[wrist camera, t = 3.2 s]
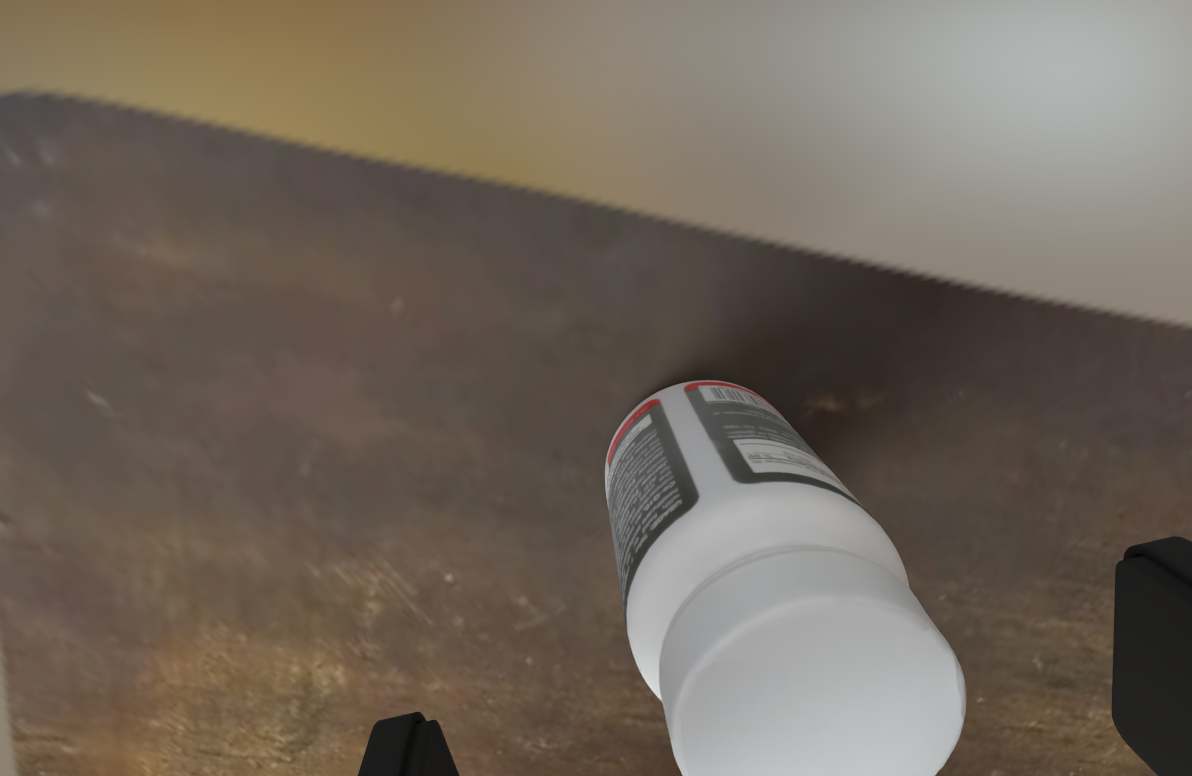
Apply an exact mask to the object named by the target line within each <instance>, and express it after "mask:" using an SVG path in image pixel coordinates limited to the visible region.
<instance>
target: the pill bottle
mask: <svg viewBox="0 0 1192 776" xmlns="http://www.w3.org/2000/svg"><path fill="white" fill-rule="evenodd" d="M605 486H606V496H607V502H608V510H609V516H610V523H611V530H612V536H613V542H614V549H615V555H616V562H617V568H618V574H619V581H620V588H621V595H622V601H623V608H624V616H625V622H626V628H627V633H628V637H629V641H630V646H631V649H632V652H633V655H634V658H635V661H636V663H637V666H638V668H639V670H640V672H641V674H642V676H643V678H644V679H645V681H646V683H647V684H648V686H649V687H650V688H651V690H652V691H653V692H654V693H655V694H656V696H657V697H658V698H659V699H660V700H661V701H662V703H663V707H664V712H665V717H666V722H667V726H668V731H669V735H670V740H671V745H672V750H673V753H674V756H675V760H676V762H677V764H678V766H679V769H680V771H681V773H682V775H683V776H935V775H936V774H937V772H938V771H939V770H940V769H941V768H942V767H943V766H944V765H945V763H946V760H947V759H948V758H949V756H950V754H951V753H952V751H953V749H954V748H955V746H956V743H957V741H958V739H959V737H960V734H961V730H962V727H963V723H964V718H965V713H966V686H965V680H964V676H963V672H962V669H961V666H960V664H959V662H958V660H957V657H956V655H955V654H954V652H953V650H952V648H951V646H950V645H949V643H948V642H947V641H946V639H945V638H944V637H943V635H942V634H941V633H940V631H939V630H938V629H937V627H936V626H935V625H934V623H933V622H932V621H931V619H930V618H929V617H928V615H927V614H926V612H925V611H924V609H923V607H922V606H921V604H920V602H919V601H918V599H917V598H916V597H915V595H914V594H913V593H912V591H911V590H910V589H909V584H908V579H907V575H906V572H905V568H904V566H903V563H902V561H901V558H900V556H899V554H898V552H897V550H896V548H895V547H894V545H893V544H892V542H891V540H890V539H889V537H888V536H887V535H886V533H885V532H884V530H883V529H882V528H881V526H880V525H879V524H878V523H877V522H876V520H875V519H874V518H873V517H872V515H871V514H870V513H869V512H868V511H867V510H866V509H865V508H864V507H863V506H862V505H861V504H860V503H859V502H858V500H857V499H856V498H855V497H854V496H853V495H852V494H851V493H850V491H849V490H848V489H847V488H846V487H845V486H844V485H843V484H842V483H841V481H840V480H839V479H838V478H837V477H836V476H835V475H834V473H833V472H832V471H831V470H830V469H829V468H828V467H827V466H826V465H825V463H824V462H823V461H822V460H821V459H820V458H819V457H818V456H817V455H816V453H815V452H814V451H813V450H812V449H811V448H810V447H809V446H808V444H807V443H806V442H805V441H804V440H803V439H802V438H801V437H800V436H799V434H798V433H797V432H796V431H795V430H794V429H793V428H792V427H791V425H790V424H789V423H788V422H787V421H786V420H785V419H784V417H783V416H782V415H781V414H780V413H779V412H778V411H777V410H776V409H775V408H774V407H773V406H772V405H771V404H770V403H769V402H767V401H766V400H765V399H764V398H762V397H761V396H759V395H758V394H756V393H754V392H753V391H751V390H749V389H746V388H744V387H742V386H739V385H736V384H733V383H729V382H724V381H716V380H699V381H691V382H685V383H681V384H677V385H674V386H671V387H668V388H665V389H663V390H661V391H659V392H657V393H655V394H653V395H651V396H650V397H648V398H647V399H645V400H644V401H643V402H641V403H640V404H639V405H638V406H637V407H636V408H635V409H634V410H633V411H632V412H631V413H630V414H629V415H628V416H627V417H626V418H625V420H624V421H623V422H622V424H621V425H620V426H619V428H618V430H617V431H616V433H615V435H614V437H613V439H612V441H611V444H610V447H609V450H608V454H607V459H606V466H605Z"/></svg>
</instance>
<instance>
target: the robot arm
mask: <svg viewBox="0 0 1192 776" xmlns="http://www.w3.org/2000/svg"><path fill="white" fill-rule="evenodd" d="M1112 718H1113V721H1114V724H1115V726H1116V728H1117V730H1118V732H1119V734H1120V735H1121V737H1122V738H1123V740H1124V741H1125V742H1126V743H1127V744H1128V746H1129V747H1130V748H1131V749H1132V750H1133V751H1134V752H1135V753H1136V754H1137V755H1138V756H1139V757H1140V758H1141V759H1142V760H1143V761H1144V762H1145V763H1146V764H1147V765H1148V766H1149V767H1150V768H1151V769H1152V770H1153V771H1154V772H1155V773H1156V774H1157V775H1158V776H1192V542H1191V541H1189V540H1187V539H1184V538H1182V537H1174V536H1173V537H1169V538H1165V539H1160V540H1156V541H1152V542H1147V543H1143V544H1139V545H1134V546H1132V547H1129V548H1128V549H1127V550H1126V552H1125V554H1124V559H1123V560H1122V561H1119V563H1118V564H1117V566H1116V572H1115V609H1114V645H1113V682H1112ZM358 776H459V774H458V771H457V769H456V766H455V764H454V761H453V758H452V756H451V753H450V751H449V748H448V746H447V743H446V740H445V738H444V735H443V733H442V730H441V728H440V725H439V723H438V722H437V721H436V720H431V721H426V720H425V718H424V716H423V715H422V714H421V713H420V712H414V713H410V714H406V715H401V716H397V717H393V718H388V719H384V720H380V721H378V722H377V723H376V724H375V725H374V727H373V729H372V732H371V735H370V738H369V741H368V745H367V748H366V751H365V754H364V758H363V761H362V764H361V767H360V770H359V774H358Z"/></svg>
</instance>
